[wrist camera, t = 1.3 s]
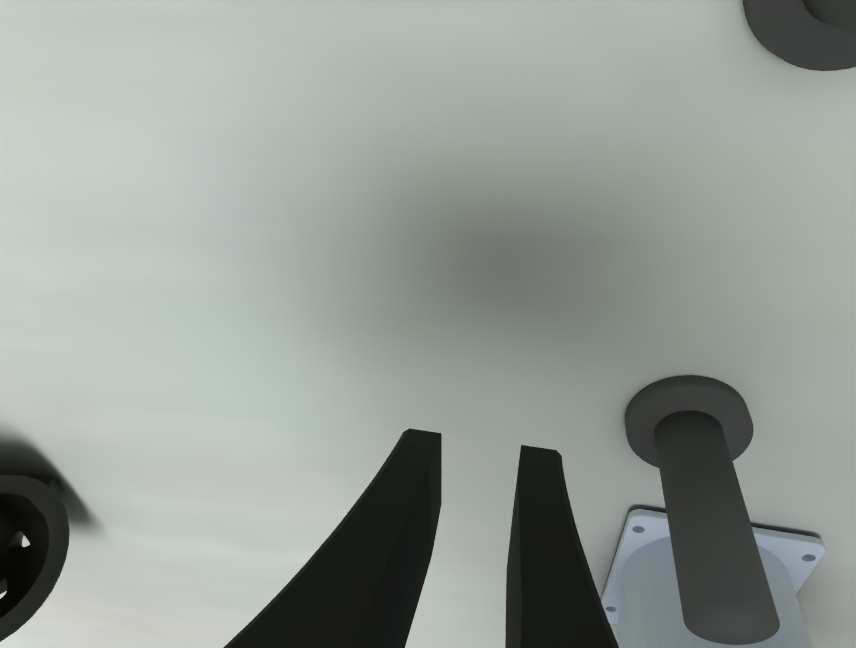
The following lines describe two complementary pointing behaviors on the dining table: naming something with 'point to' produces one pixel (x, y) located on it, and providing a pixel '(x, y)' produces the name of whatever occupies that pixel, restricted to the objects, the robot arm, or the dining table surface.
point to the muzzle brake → (45, 556)
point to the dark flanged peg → (806, 31)
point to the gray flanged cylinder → (705, 504)
